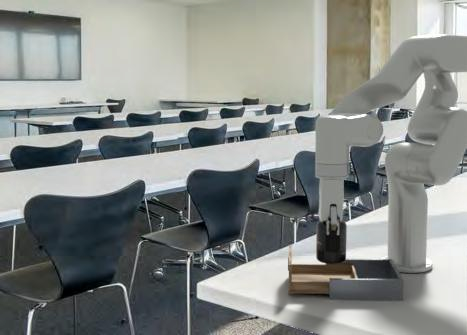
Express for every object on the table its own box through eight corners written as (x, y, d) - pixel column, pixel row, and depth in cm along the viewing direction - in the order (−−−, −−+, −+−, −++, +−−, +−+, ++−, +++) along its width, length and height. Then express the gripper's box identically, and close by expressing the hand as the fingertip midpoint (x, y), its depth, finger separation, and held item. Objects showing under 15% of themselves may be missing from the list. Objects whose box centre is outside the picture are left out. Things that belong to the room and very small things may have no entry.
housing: (325, 276, 143) (325, 258, 142) (391, 277, 141) (392, 258, 141) (329, 299, 128) (329, 279, 127) (403, 300, 126) (403, 280, 126)
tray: (288, 272, 144) (288, 245, 143) (352, 273, 142) (352, 245, 141) (288, 294, 129) (287, 264, 128) (359, 296, 127) (360, 265, 126)
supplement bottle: (310, 260, 134) (310, 209, 132) (326, 253, 139) (327, 204, 137) (335, 266, 129) (336, 213, 128) (352, 259, 134) (352, 208, 133)
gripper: (313, 165, 140) (313, 237, 143) (316, 176, 123) (316, 258, 126) (345, 165, 139) (344, 237, 142) (353, 176, 122) (351, 258, 125)
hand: (331, 246), depth 134 cm, fingers closed on supplement bottle, 6 cm apart
